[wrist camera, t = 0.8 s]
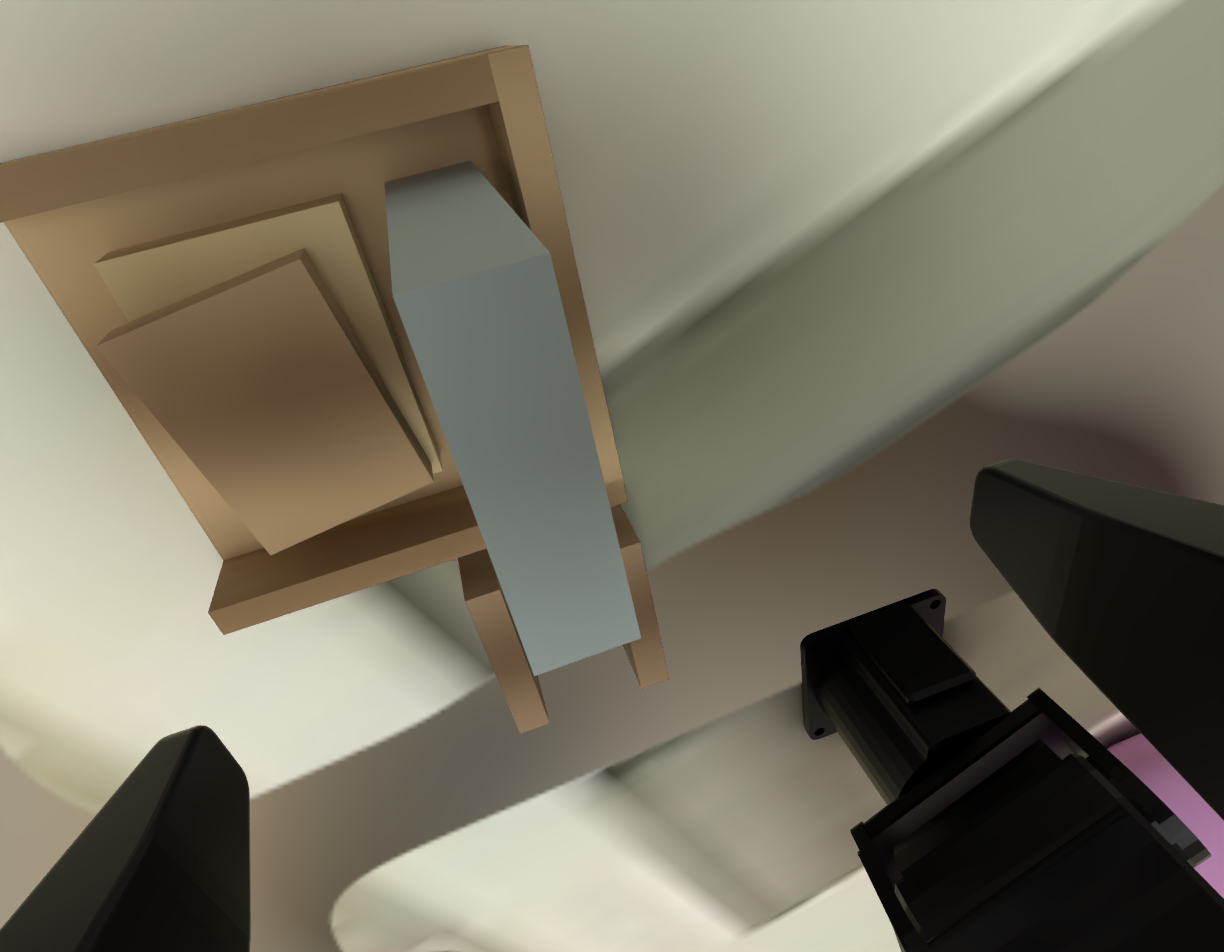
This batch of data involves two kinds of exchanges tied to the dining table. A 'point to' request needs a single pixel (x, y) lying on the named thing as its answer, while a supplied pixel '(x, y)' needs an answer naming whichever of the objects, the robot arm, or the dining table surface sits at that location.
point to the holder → (506, 642)
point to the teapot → (1178, 802)
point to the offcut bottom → (248, 243)
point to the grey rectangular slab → (510, 408)
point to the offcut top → (273, 401)
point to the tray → (357, 168)
